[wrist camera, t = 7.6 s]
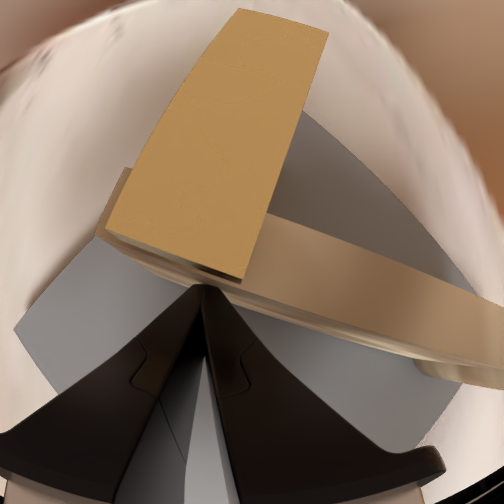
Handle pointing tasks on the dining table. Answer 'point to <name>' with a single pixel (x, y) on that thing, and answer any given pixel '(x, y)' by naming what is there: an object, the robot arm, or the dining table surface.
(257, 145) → the brass keeper
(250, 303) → the ash link
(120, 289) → the slate board
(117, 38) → the dining table surface
